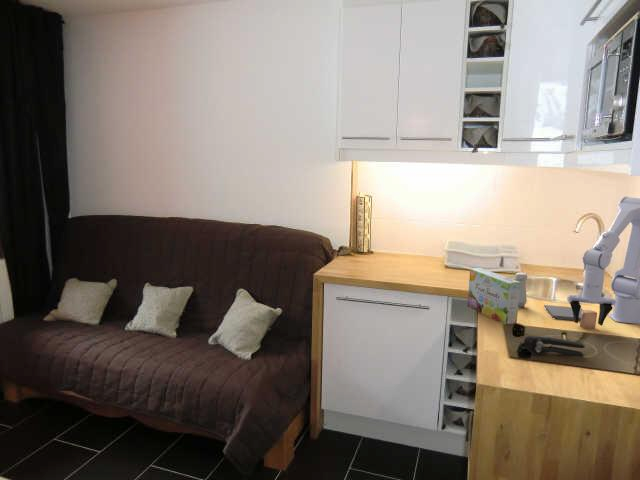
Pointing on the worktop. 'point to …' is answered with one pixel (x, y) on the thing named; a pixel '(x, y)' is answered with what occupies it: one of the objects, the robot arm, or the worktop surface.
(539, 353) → the can opener
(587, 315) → the toy block
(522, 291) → the salt shaker
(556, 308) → the plate
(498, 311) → the snack box
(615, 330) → the worktop surface
